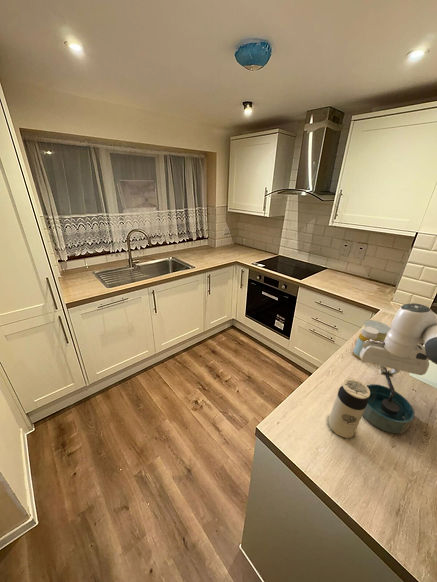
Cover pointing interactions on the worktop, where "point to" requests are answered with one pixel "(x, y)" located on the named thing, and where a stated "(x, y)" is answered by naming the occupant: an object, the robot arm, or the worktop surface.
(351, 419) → the travel mug
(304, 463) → the worktop surface
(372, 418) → the bowl
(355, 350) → the bottle
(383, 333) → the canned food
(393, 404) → the ladle
